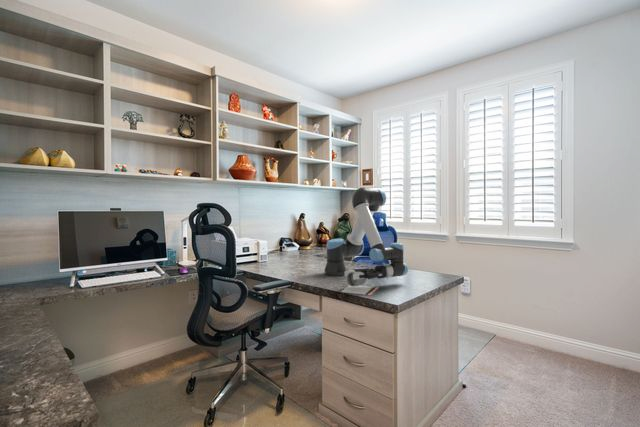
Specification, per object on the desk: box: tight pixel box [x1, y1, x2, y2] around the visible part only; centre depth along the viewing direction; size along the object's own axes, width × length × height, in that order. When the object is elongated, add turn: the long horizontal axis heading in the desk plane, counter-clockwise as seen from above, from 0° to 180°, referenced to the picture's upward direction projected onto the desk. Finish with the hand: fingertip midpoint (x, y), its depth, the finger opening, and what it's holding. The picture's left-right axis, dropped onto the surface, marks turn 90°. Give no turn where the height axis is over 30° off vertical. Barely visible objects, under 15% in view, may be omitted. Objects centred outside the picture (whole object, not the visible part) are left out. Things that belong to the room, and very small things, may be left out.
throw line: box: [367, 286, 380, 297], centre depth 176 cm, size 17×2×1 cm, turn 155°
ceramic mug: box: [346, 272, 367, 286], centre depth 182 cm, size 11×8×8 cm
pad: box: [341, 285, 374, 296], centre depth 180 cm, size 15×13×1 cm
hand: (349, 275), depth 178 cm, fingers closed on ceramic mug, 8 cm apart
